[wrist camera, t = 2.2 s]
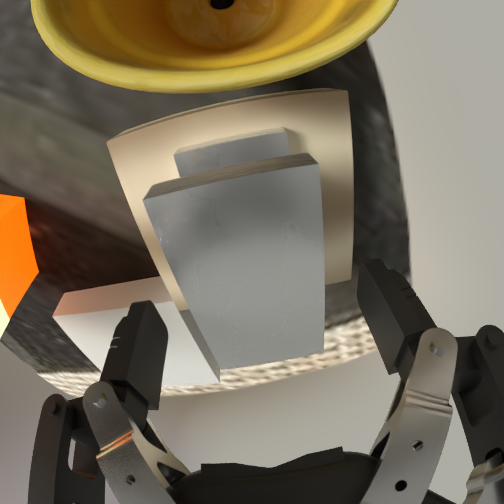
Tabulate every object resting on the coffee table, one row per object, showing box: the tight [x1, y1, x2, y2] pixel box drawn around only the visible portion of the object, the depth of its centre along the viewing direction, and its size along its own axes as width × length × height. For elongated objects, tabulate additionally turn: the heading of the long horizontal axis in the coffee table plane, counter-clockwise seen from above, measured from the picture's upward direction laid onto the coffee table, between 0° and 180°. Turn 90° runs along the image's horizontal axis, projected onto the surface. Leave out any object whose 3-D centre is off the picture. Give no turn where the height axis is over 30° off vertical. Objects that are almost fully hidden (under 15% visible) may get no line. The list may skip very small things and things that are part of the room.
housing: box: [142, 127, 325, 370], centre depth 12 cm, size 9×5×6 cm, turn 10°
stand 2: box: [107, 88, 354, 311], centre depth 16 cm, size 12×12×3 cm
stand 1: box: [52, 276, 220, 387], centre depth 23 cm, size 12×12×3 cm
